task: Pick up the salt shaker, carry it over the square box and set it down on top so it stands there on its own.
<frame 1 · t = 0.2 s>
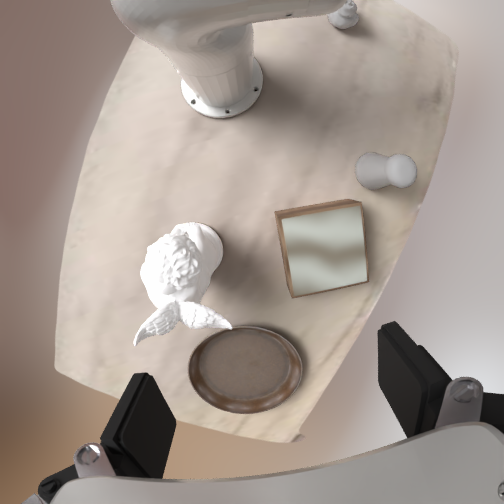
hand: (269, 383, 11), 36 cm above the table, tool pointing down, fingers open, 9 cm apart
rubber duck: (339, 19, 37), on the table
salt shaker: (366, 171, 44), on the table
square box: (317, 242, 46), on the table
plant saucer: (245, 365, 53), on the table
cherub figurine: (205, 256, 47), on the table
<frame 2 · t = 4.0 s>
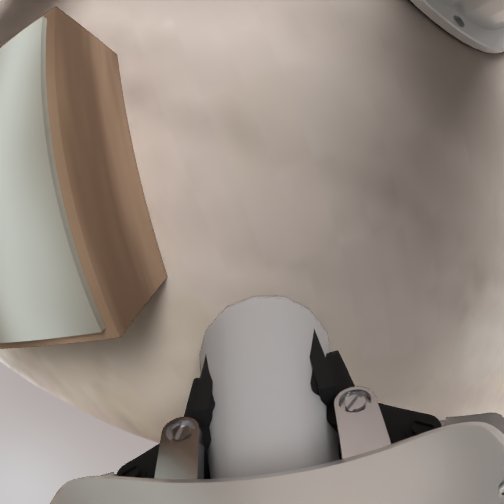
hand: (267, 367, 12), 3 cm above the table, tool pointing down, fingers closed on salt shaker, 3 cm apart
salt shaker: (263, 329, 15), on the table, touching gripper
square box: (45, 195, 13), on the table
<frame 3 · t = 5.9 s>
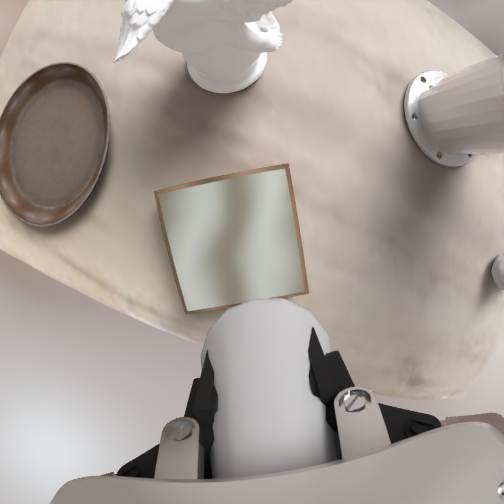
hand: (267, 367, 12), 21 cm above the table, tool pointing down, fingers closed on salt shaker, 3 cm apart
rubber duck: (497, 266, 33), on the table
salt shaker: (264, 331, 15), point 18 cm above the table, touching gripper
square box: (236, 231, 32), on the table
plant saucer: (54, 143, 30), on the table
cherub figurine: (215, 72, 28), on the table
when the fingers open (11 cm above the table, at t = 8.3 s): salt shaker stays where it is, resting on square box.
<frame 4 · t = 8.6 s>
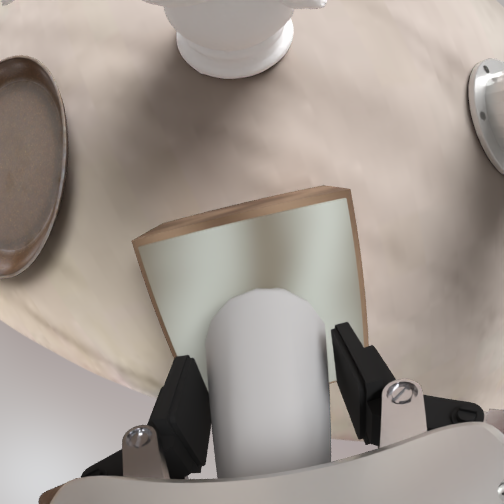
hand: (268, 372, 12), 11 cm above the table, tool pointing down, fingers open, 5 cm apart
salt shaker: (265, 319, 16), point 6 cm above the table, touching square box
square box: (260, 282, 22), on the table
plant saucer: (8, 165, 20), on the table
cherub figurine: (218, 50, 18), on the table
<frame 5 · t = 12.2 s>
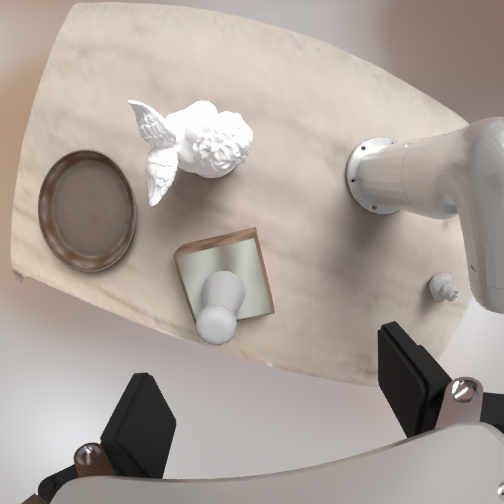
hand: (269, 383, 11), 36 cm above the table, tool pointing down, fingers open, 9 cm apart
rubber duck: (436, 282, 49), on the table
salt shaker: (225, 285, 42), point 6 cm above the table, touching square box
square box: (227, 271, 48), on the table
plant saucer: (90, 209, 45), on the table
cherub figurine: (205, 160, 44), on the table
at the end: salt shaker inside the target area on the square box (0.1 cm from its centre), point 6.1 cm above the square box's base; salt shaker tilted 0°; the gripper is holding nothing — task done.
